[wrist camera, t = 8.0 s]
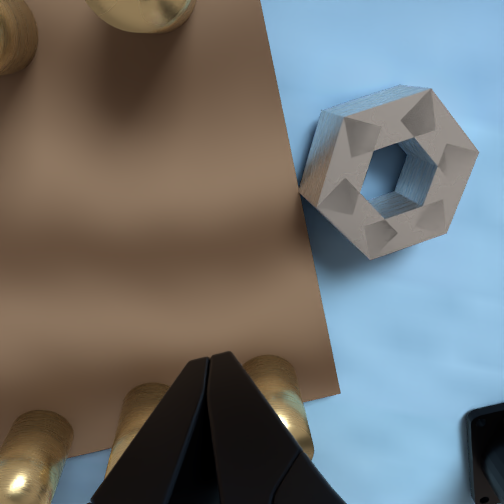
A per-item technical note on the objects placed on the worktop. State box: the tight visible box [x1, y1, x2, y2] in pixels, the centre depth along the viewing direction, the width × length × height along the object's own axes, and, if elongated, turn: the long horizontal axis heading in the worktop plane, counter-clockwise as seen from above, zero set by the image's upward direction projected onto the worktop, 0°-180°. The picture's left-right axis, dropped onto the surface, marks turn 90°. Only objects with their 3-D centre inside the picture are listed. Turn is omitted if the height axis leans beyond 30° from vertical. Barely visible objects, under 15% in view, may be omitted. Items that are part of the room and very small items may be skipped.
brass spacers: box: [0, 0, 314, 504], centre depth 16 cm, size 18×18×4 cm
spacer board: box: [0, 0, 341, 458], centre depth 18 cm, size 19×20×1 cm
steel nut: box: [298, 85, 479, 260], centre depth 16 cm, size 5×6×2 cm
